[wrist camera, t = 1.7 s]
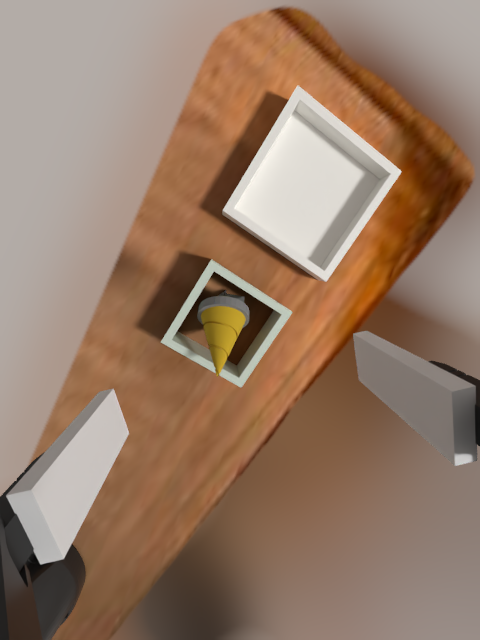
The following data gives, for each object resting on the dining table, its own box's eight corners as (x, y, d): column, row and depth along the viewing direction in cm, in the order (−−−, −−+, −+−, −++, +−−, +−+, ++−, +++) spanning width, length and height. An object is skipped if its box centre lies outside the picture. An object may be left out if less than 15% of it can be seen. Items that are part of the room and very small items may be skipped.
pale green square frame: (238, 374, 33) (241, 387, 30) (166, 333, 31) (160, 342, 28) (284, 306, 32) (292, 312, 28) (211, 259, 30) (211, 259, 27)
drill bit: (257, 297, 32) (256, 382, 27) (217, 307, 34) (208, 387, 29) (236, 268, 28) (229, 361, 23) (192, 281, 30) (176, 369, 25)
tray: (317, 279, 31) (326, 281, 29) (222, 214, 29) (222, 210, 27) (386, 178, 30) (401, 171, 27) (290, 100, 27) (297, 85, 25)
